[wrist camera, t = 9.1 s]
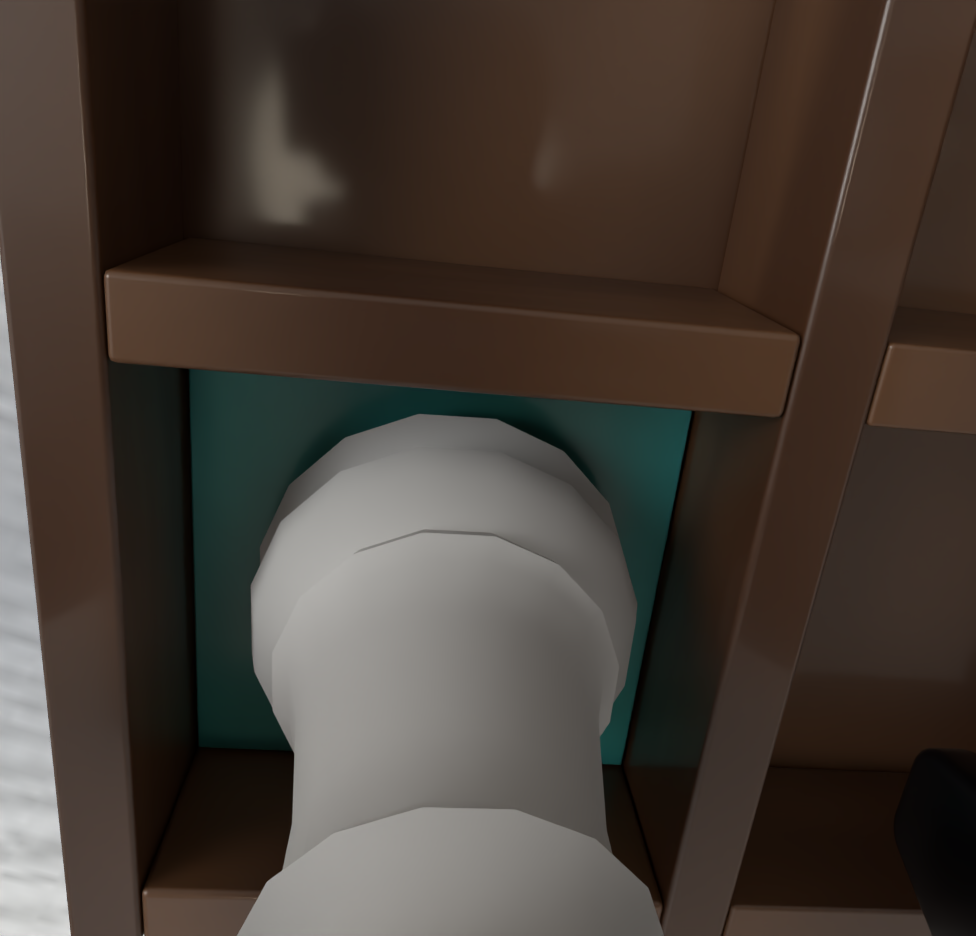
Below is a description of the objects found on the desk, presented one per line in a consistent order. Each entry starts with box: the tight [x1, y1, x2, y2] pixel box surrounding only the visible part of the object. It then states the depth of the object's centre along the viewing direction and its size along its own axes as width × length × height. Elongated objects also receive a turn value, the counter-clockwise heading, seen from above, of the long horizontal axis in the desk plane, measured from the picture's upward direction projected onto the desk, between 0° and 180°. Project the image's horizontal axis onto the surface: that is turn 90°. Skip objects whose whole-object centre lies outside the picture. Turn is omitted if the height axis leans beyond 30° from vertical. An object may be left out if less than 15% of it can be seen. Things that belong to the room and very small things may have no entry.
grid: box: [0, 0, 976, 936], centre depth 9 cm, size 14×14×3 cm
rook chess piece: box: [237, 414, 664, 936], centre depth 7 cm, size 4×4×8 cm
